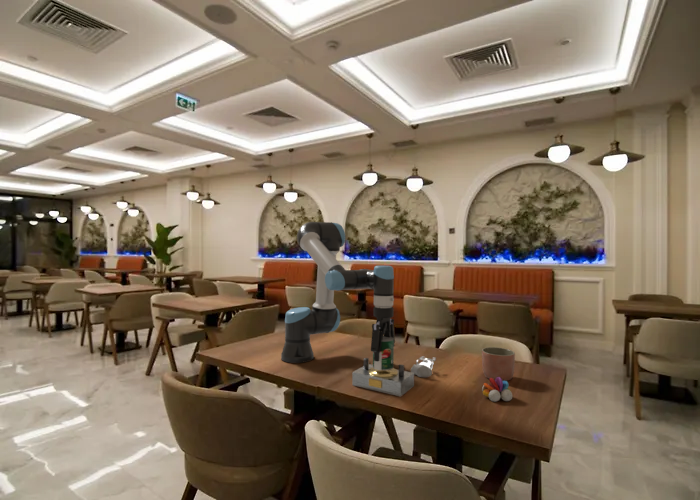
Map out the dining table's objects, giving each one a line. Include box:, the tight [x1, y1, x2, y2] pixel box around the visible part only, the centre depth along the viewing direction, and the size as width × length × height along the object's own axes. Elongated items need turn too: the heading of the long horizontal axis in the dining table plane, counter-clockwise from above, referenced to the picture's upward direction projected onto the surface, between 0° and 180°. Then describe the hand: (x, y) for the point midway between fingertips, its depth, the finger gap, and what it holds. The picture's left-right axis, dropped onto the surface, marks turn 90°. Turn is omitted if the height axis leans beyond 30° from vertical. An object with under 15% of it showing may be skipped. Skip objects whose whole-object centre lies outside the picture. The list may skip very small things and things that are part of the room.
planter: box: [481, 346, 516, 382], centre depth 150 cm, size 12×12×11 cm
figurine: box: [410, 355, 437, 378], centre depth 155 cm, size 9×6×12 cm
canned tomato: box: [372, 335, 395, 370], centre depth 141 cm, size 8×8×11 cm
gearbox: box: [351, 357, 415, 397], centre depth 141 cm, size 20×13×9 cm, turn 58°
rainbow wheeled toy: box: [481, 377, 513, 403], centre depth 130 cm, size 8×10×7 cm
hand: (383, 366), depth 141 cm, fingers closed on canned tomato, 8 cm apart
